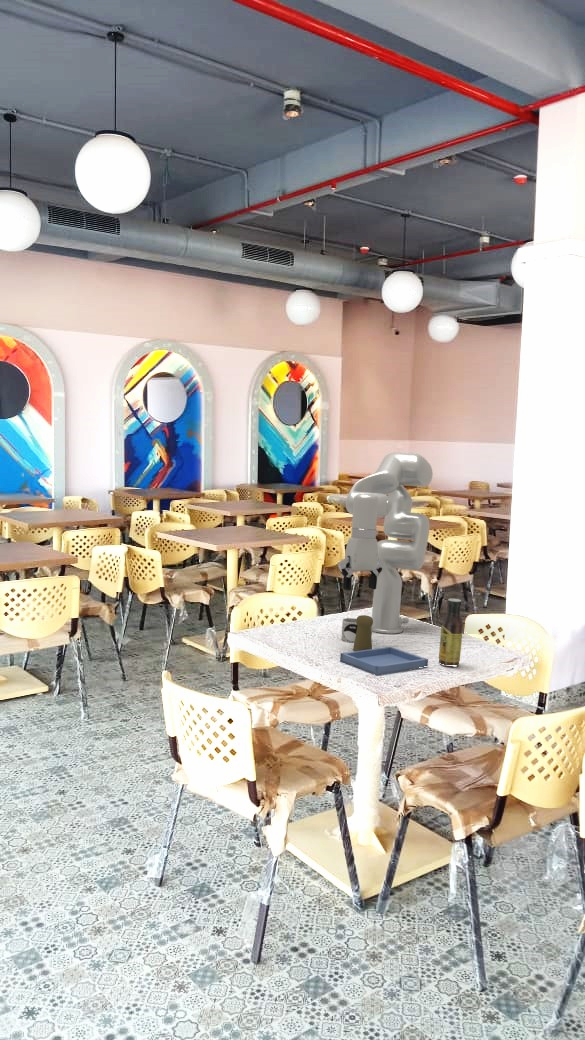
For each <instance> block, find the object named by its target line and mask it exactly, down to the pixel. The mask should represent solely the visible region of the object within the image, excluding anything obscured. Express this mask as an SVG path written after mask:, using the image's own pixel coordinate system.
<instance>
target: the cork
mask: <svg viewBox="0 0 585 1040" xmlns="http://www.w3.org/2000/svg"><path fill="white" fill-rule="evenodd" d="M355 619H356V623H357V625H358V627H357V632H356V637H355V642H354V643H353V648H352V652H354V651H362V650H369V649H373V641H372V638H373V637H372V636H371V626H372V625H373V619H372V616H369V615H367V614H366V615H364V614H361V615H359V616H357V617H356V618H355Z"/></svg>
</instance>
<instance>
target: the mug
mask: <svg viewBox="0 0 585 1040" xmlns="http://www.w3.org/2000/svg"><path fill="white" fill-rule="evenodd" d="M356 619H357V618H355V617H354V618H352V617H349V618H348V617H347V618H343V619H342V620H341V621H342V625H341V640H340V641H342V642H345V643H351V644H354V642H355V637H356V632H357V627H358V625H357V623H356ZM372 636H373V631H372V626H371V637H372Z"/></svg>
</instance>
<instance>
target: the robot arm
mask: <svg viewBox="0 0 585 1040" xmlns="http://www.w3.org/2000/svg"><path fill="white" fill-rule="evenodd" d="M433 475H434V474H433V469H432V466H431V463H429V462H428V460H427V459H426V458H425V457H424V456H423V455H420V454H417V453H411V452H409V453H406V452H390V453H388V454H386V455H385V456H384V457H383V458H382V461H381V462H380V465H379V466H378V468H377V469H376V470H375V473H373V474H369V475H368V476H365V477H363V478H361V479H359V480H357V481H356V482H355V483H354V484H353V485H352V486H351V489H350V490H349V491H348V494H347V496H346V499H345V509H346V511H347V513H349V514H350V515H352V519H351V534H350V536H351V537H349V538H348V540H347V544H346V547H345V554H344V558H343V559H341V560H340V561H338V562H337V567H338V570H339V572H340V574H341V575H342V577H343V580H342V581H343V583H342V587H343V590H346V591H352V581H353V580H352V579H353V577H351V576H352V575H353V574H354V573H355V572H369V573H370V575H369V576H368V588H369V589H372V590H373V598H372V613H371V617H372V619H373V625H372V632H374V633H380V634H390V635H391V634H394V635H395V634H400V633H403V632H404V627H403V626H402V625H403V624H408V623H409V622H410V620H409V618H408V617H401V615H400V614H401V600H402V599H401V598H402V586H403V581H402V577H401V575H400V573H399V572H398V570H397V569H399V570H400V569H401V570H409V571H419V570H421V569H422V567H423V565H424V563H425V558H426V552H427V547H428V542H429V537H430V519H429V518H428V516H427V515H425V514H424V513H421V512H420V513H419V512H412V507H413V499H412V496H411V494H410V492H409V491H408V490H407V489H406V488H405V486H410V487H421V488H423V487H424V488H425V487H427V486H429V485H430V483H431V482H432V480H433ZM378 518H384V519H383V520H384V521H383V526H382V527H383V533H384V535H385V536H387V538H392V539H381V540H379V541H378V539H377V538H376V537H377V535H379V531H378V530H377V523H378ZM396 539H400V540H396ZM405 540H409V541H405Z"/></svg>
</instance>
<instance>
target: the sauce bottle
mask: <svg viewBox="0 0 585 1040" xmlns="http://www.w3.org/2000/svg"><path fill="white" fill-rule="evenodd" d="M446 604H447V610H446V614H445V617H444V619H443V621H442V623H441V628H440V639H439V650H438V651H439V652H438V664H439V663H441V664H444V665H458V664H460V661H461V651H462V641H463V640H462V639H463V627H464V623H463V620H462V617H461V607H462V600H461V599H459V598H448V599H447V603H446ZM441 664H440V665H441ZM458 666H459V665H458Z"/></svg>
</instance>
